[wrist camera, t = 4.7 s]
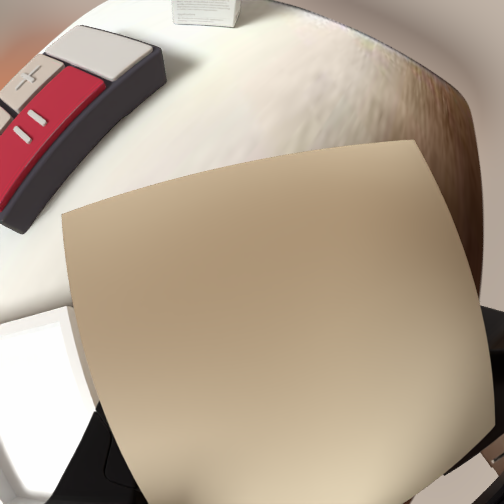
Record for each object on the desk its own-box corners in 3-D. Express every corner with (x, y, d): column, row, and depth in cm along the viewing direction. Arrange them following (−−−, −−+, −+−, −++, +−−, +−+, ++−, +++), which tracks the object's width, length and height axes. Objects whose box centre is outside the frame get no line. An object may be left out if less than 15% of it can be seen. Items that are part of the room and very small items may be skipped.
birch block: (299, 366, 14) (495, 426, 3) (207, 397, 13) (200, 574, 2) (270, 276, 15) (413, 139, 4) (177, 304, 14) (62, 214, 3)
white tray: (162, 504, 11) (156, 526, 9) (19, 499, 9) (3, 511, 6) (87, 309, 14) (66, 306, 11) (-40, 342, 11) (-62, 341, 9)
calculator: (-50, 149, 11) (77, 17, 15) (-23, 171, 15) (89, 49, 19) (-8, 222, 11) (163, 40, 14) (30, 241, 15) (170, 82, 18)
